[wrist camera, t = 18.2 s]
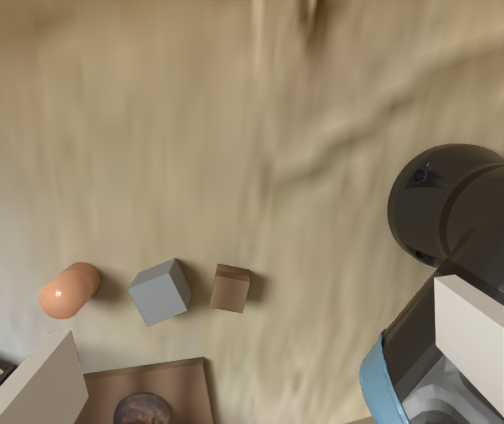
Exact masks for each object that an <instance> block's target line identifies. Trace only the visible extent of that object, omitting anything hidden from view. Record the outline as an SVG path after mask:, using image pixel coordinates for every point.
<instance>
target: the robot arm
mask: <svg viewBox="0 0 504 424" xmlns="http://www.w3.org/2000/svg"><path fill="white" fill-rule="evenodd" d="M387 211H388V222H389V226H390V229H391V232H392V234H393V236H394V238H395V240H396V241H397V243H398V244H399V245H400V246H401V248H402V249H403V250H405V251H406V252H407V253H408V254H410V255H411V256H413V257H414V258H415V259H417V260H418V261H420V262H422V263H424V264H426V265H429V266H432V267H435V268H438V269H437V271H435V272H434V273H433V274H432V275H431V277H430V278H429V279H428V280H427V281H426V283H425V284H424V285H423V286H422V287H421V289H420V290H419V291H418V292H417V293H416V295H415V296H414V297H413V298H412V299H411V301H410V302H409V303H408V304H407V306H406V307H405V308H404V309H403V310H402V312H401V313H400V314H399V315H398V316H397V318H396V319H395V320H394V321H393V322H392V324H391V325H390V326H389V327H388V328H387V329H384V330H383V331H382V332H381V333H380V335H379V337H378V340H377V342H376V343H375V345H374V346H373V347H372V349H371V350H370V351H369V353H368V354H367V356H366V357H365V358H364V360H363V361H362V364H361V367H360V372H359V377H360V384H361V389H362V394H363V397H364V399H365V402H366V404H367V406H368V409H369V411H370V413H371V414H372V416H373V418H374V420H375V422H376V423H377V424H504V159H503V158H502V157H500V156H499V155H498V154H496V153H494V152H493V151H491V150H489V149H486V148H483V147H480V146H476V145H470V144H445V145H440V146H437V147H434V148H431V149H429V150H427V151H425V152H423V153H421V154H419V155H418V156H417V157H415V158H414V159H413V160H411V161H410V162H409V163H408V164H407V165H406V166H405V167H404V169H403V170H402V171H401V172H400V174H399V175H398V177H397V179H396V180H395V182H394V184H393V187H392V189H391V192H390V196H389V200H388V209H387ZM88 397H89V395H88V392H87V388H86V384H85V380H84V377H83V373H82V369H81V365H80V361H79V358H78V354H77V350H76V346H75V342H74V339H73V335H72V331H71V330H66V331H59V332H52V333H49V334H48V335H47V336H46V337H45V338H44V339H43V341H42V342H41V343H40V344H39V345H38V346H37V347H36V348H35V349H34V350H33V351H32V352H31V354H30V355H29V356H28V357H27V358H26V359H25V360H24V361H23V362H22V363H21V364H20V365H19V367H18V368H17V369H16V370H15V371H14V372H13V373H12V374H11V375H10V376H9V377H8V378H7V380H6V381H5V382H4V383H3V384H2V385H1V386H0V424H74V422H75V421H76V419H77V417H78V415H79V413H80V412H81V410H82V408H83V406H84V404H85V402H86V401H87V399H88Z"/></svg>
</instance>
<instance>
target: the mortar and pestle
mask: <svg viewBox="0 0 504 424" xmlns="http://www.w3.org/2000/svg"><path fill="white" fill-rule="evenodd" d="M113 424H171V414H170V410H169V408H168V407H167V405H166V404H165V402H164V401H163V400H162V399H161V398H160V397H159V396H158V395H157V394H149V393H140V394H133V395H129V396H127V397H125V398H123V399H122V400H121V401H120V402H119V404H118V405H117V407H116V409H115V412H114V416H113Z"/></svg>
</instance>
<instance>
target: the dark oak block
mask: <svg viewBox="0 0 504 424" xmlns="http://www.w3.org/2000/svg"><path fill="white" fill-rule="evenodd" d="M249 285H250V276H249V270H248V269H243V268H238V267H232V266H227V265H222V264H218V265H217V269H216V274H215V278H214V283H213V288H212V292H211V299H210V305H209V307H211V308H216V309H222V310H227V311H233V312H238V313H243V310H244V306H245V302H246V297H247V293H248V289H249Z"/></svg>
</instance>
